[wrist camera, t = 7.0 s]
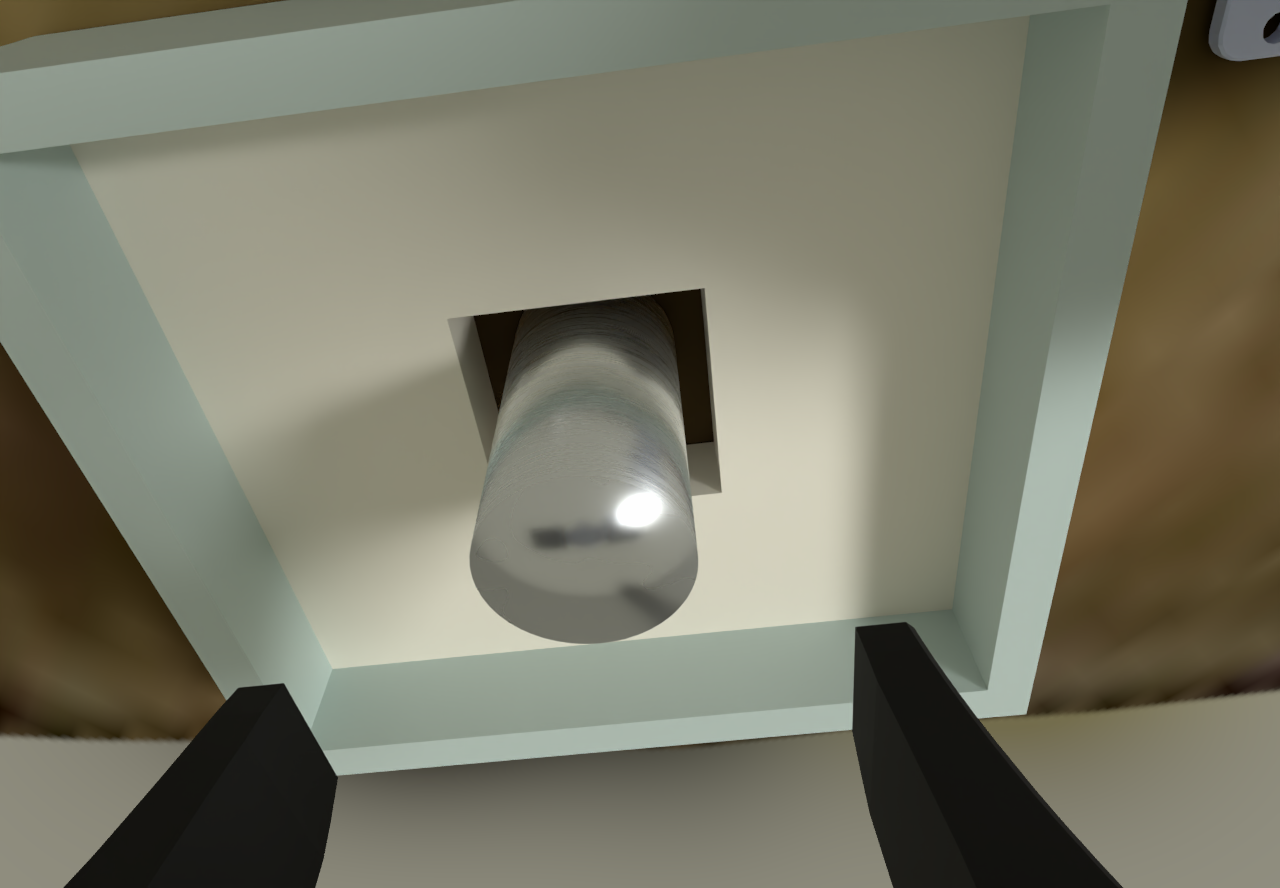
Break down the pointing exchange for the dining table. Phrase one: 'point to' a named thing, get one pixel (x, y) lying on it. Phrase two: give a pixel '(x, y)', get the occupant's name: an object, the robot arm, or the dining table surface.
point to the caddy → (567, 274)
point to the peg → (588, 477)
